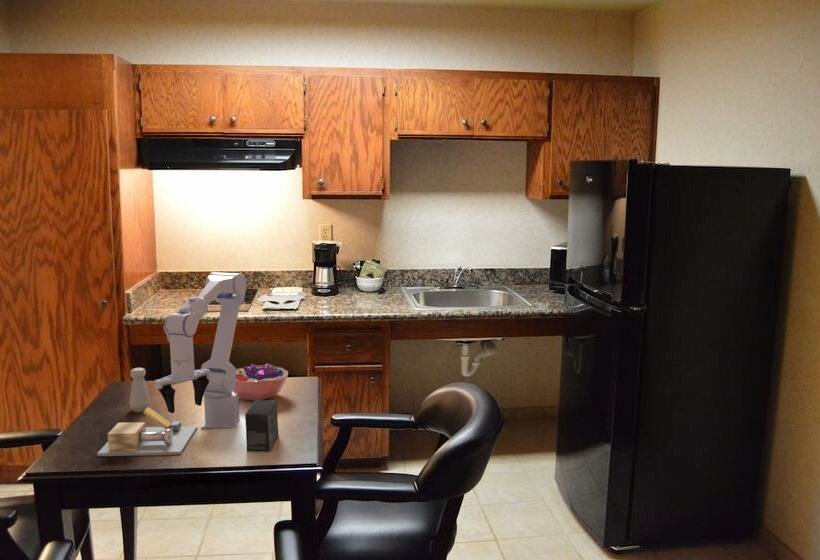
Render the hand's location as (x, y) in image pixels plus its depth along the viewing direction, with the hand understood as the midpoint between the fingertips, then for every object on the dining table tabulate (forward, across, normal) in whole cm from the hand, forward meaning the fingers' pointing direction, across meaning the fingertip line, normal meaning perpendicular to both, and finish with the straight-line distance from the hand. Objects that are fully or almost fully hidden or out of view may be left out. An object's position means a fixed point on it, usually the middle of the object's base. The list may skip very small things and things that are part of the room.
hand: (185, 408), depth 177 cm
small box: (+11, -15, +13) cm, 23 cm away
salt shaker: (+11, -3, -34) cm, 36 cm away
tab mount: (+10, -2, -10) cm, 15 cm away
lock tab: (+7, +2, -14) cm, 15 cm away
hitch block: (+10, +12, -10) cm, 18 cm away
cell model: (+11, -34, -18) cm, 40 cm away
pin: (+10, +8, -6) cm, 14 cm away
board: (+10, +6, -9) cm, 15 cm away
